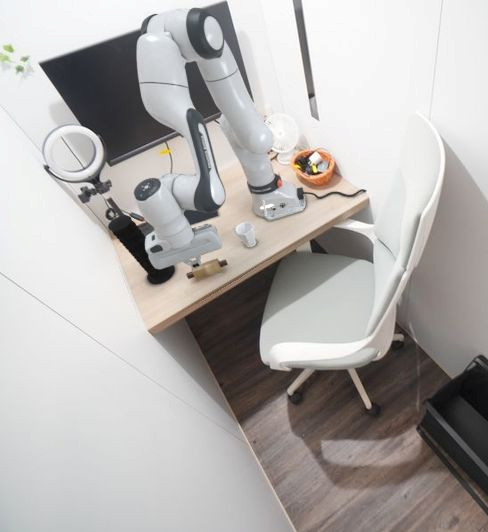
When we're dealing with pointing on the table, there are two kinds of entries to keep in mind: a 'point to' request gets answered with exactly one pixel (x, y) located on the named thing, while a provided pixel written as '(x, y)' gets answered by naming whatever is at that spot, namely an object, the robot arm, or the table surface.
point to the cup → (246, 233)
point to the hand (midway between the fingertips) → (196, 265)
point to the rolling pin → (207, 269)
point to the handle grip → (138, 248)
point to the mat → (198, 216)
